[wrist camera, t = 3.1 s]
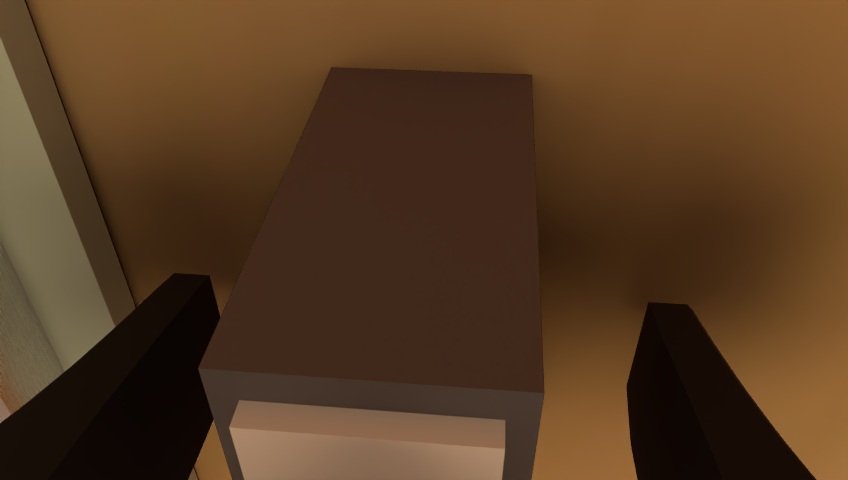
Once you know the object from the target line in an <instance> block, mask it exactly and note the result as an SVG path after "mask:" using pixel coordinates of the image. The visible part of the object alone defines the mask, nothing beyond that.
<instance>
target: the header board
mask: <svg viewBox="0 0 848 480" xmlns="http://www.w3.org/2000/svg"><path fill="white" fill-rule="evenodd" d="M135 308H136V307H135V304H134V302H133V299H132V296H131V293H130V291H129V288H128V285H127V282H126V279H125V277H124V274H123V271H122V268H121V266H120V263H119V260H118V257H117V255H116V252H115V249H114V246H113V244H112V241H111V238H110V235H109V232H108V230H107V227H106V224H105V221H104V219H103V216H102V213H101V210H100V208H99V205H98V202H97V199H96V197H95V194H94V191H93V188H92V186H91V183H90V180H89V177H88V174H87V172H86V169H85V166H84V163H83V161H82V158H81V155H80V152H79V150H78V147H77V144H76V141H75V139H74V136H73V133H72V130H71V127H70V125H69V122H68V119H67V116H66V114H65V111H64V108H63V105H62V103H61V100H60V97H59V94H58V92H57V89H56V86H55V83H54V81H53V78H52V75H51V72H50V69H49V67H48V64H47V61H46V58H45V56H44V53H43V50H42V47H41V45H40V42H39V39H38V36H37V34H36V31H35V28H34V25H33V22H32V20H31V17H30V14H29V11H28V9H27V6H26V3H25V0H0V423H1V422H2V421H3V420H5V419H6V418H8V417H9V416H10V415H12V414H13V413H14V412H15V411H17V410H18V409H19V408H21V407H22V406H23V405H25V404H26V403H27V402H28V401H29V400H31V399H32V398H33V397H34V396H36V395H37V394H38V393H39V392H40V391H42V390H43V389H44V388H45V387H47V386H48V385H49V384H50V383H51V382H53V381H54V380H55V379H56V378H58V377H59V376H60V375H61V374H62V373H64V372H65V371H66V370H67V369H69V368H70V367H71V366H72V365H73V364H74V363H76V362H77V361H78V360H79V359H80V358H81V357H82V356H83V355H85V354H86V353H87V352H88V351H89V350H90V349H91V348H92V347H94V346H95V345H96V344H97V343H98V342H99V341H100V340H101V339H103V338H104V337H105V336H106V335H107V334H108V333H109V332H110V331H112V330H113V329H114V328H115V327H116V326H117V325H118V324H119V323H120V322H121V321H122V320H124V319H125V318H126V317H127V316H128V315H129V314H130V313H131V312H132V311H133V310H134V309H135ZM188 480H198V478H197V476H196V473H195V470H194V467H193V470H192V472H191V474H190V477H189V479H188Z"/></svg>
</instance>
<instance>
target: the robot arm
mask: <svg viewBox="0 0 848 480" xmlns="http://www.w3.org/2000/svg"><path fill="white" fill-rule="evenodd" d="M219 320H220V314H219V310H218V306H217V303H216V299H215V295H214V291H213V287H212V283H211V280H210V276H209V275H196V274H180V273H174V274H173V275H172V276H171V277H169V278H168V279H167V280H166V281H165V282H164V283H163V284H162V285H161V286H159V287H158V288H157V289H156V290H155V291H154V292H153V293H152V294H151V295H150V296H148V297H147V298H146V299H145V300H144V301H143V302H142V303H141V304H140V305H139V306H138V307H137V308H135V309H134V310H133V311H132V312H131V313H130V314H129V315H128V316H127V317H126V318H125V319H124V320H122V321H121V322H120V323H119V324H118V325H117V326H116V327H115V328H114V329H113V330H112V331H110V332H109V333H108V334H107V335H106V336H105V337H104V338H103V339H101V340H100V341H99V342H98V343H97V344H96V345H95V346H94V347H92V348H91V349H90V350H89V351H88V352H87V353H86V354H85V355H83V356H82V357H81V358H80V359H79V360H78V361H77V362H76V363H74V364H73V365H72V366H71V367H70V368H69V369H67V370H66V371H65V372H64V373H62V374H61V375H60V376H59V377H58V378H56V379H55V380H54V381H53V382H51V383H50V384H49V385H48V386H47V387H45V388H44V389H43V390H42V391H40V392H39V393H38V394H37V395H36V396H34V397H33V398H32V399H31V400H29V401H28V402H27V403H26V404H25V405H23V406H22V407H21V408H19V409H18V410H17V411H15V412H14V413H13V414H12V415H10V416H9V417H8V418H6V419H5V420H3V421H2V422H1V423H0V480H188V479H189V477H190V474H191V472H192V470H193V467H194V465H195V463H196V460H197V458H198V456H199V453H200V451H201V448H202V446H203V443H204V441H205V439H206V436H207V434H208V431H209V429H210V427H211V424H212V422H213V419H214V418H213V415H212V412H211V409H210V406H209V402H208V399H207V396H206V393H205V389H204V386H203V383H202V380H201V376H200V373H199V370H198V367H199V365H200V363H201V361H202V358H203V356H204V354H205V352H206V349H207V347H208V345H209V343H210V340H211V338H212V336H213V334H214V331H215V329H216V327H217V324H218V322H219ZM627 400H628V415H629V427H630V439H631V447H632V453H633V458H634V463H635V468H636V474H637V479H638V480H816V479H815V477H814V476H813V475H812V474H811V473H810V472H809V470H808V469H807V468H806V467H805V465H804V464H803V463H802V462H801V461H800V459H799V458H798V457H797V456H796V455H795V453H794V452H793V451H792V450H791V448H790V447H789V446H788V445H787V444H786V442H785V441H784V440H783V438H782V437H781V436H780V435H779V433H778V432H777V431H776V430H775V428H774V427H773V426H772V424H771V423H770V422H769V420H768V419H767V418H766V416H765V415H764V414H763V412H762V411H761V410H760V408H759V407H758V406H757V404H756V403H755V401H754V400H753V399H752V397H751V396H750V395H749V393H748V392H747V391H746V389H745V388H744V386H743V385H742V384H741V382H740V381H739V379H738V378H737V377H736V375H735V374H734V372H733V371H732V369H731V368H730V366H729V365H728V363H727V362H726V360H725V359H724V358H723V356H722V355H721V353H720V352H719V350H718V349H717V347H716V346H715V344H714V343H713V341H712V340H711V338H710V336H709V335H708V333H707V332H706V330H705V329H704V327H703V326H702V324H701V322H700V321H699V319H698V318H697V316H696V315H695V313H694V311H693V310H692V309H691V308H690V307H689V306H688V305H684V304H668V303H651V302H648V306H647V310H646V313H645V317H644V321H643V325H642V329H641V333H640V336H639V340H638V344H637V348H636V352H635V356H634V359H633V363H632V367H631V371H630V375H629V379H628V383H627Z"/></svg>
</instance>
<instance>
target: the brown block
mask: <svg viewBox="0 0 848 480" xmlns="http://www.w3.org/2000/svg"><path fill="white" fill-rule="evenodd" d="M198 370H199V373H200V376H201V380H202V383H203V386H204V389H205V393H206V396H207V399H208V402H209V406H210V409H211V412H212V415H213V418H214V422H215V425H216V428H217V431H218V435H219V438H220V441H221V444H222V448H223V451H224V454H225V457H226V460H227V464H228V467H229V470H230V473H231V477H232V480H531V478H532V472H533V465H534V458H535V452H536V445H537V438H538V432H539V425H540V419H541V412H542V405H543V399H544V373H543V347H542V322H541V296H540V271H539V246H538V220H537V195H536V169H535V144H534V119H533V93H532V75H525V74H497V73H469V72H442V71H414V70H387V69H359V68H331V70H330V72H329V74H328V76H327V79H326V81H325V83H324V86H323V88H322V90H321V92H320V95H319V97H318V99H317V101H316V104H315V106H314V108H313V110H312V113H311V115H310V117H309V119H308V122H307V124H306V126H305V128H304V131H303V133H302V135H301V137H300V140H299V142H298V144H297V146H296V149H295V151H294V153H293V155H292V158H291V160H290V162H289V164H288V167H287V169H286V171H285V173H284V176H283V178H282V180H281V182H280V185H279V187H278V189H277V191H276V194H275V196H274V198H273V200H272V203H271V205H270V207H269V210H268V212H267V214H266V216H265V219H264V221H263V223H262V225H261V228H260V230H259V232H258V234H257V237H256V239H255V241H254V243H253V246H252V248H251V250H250V252H249V255H248V257H247V259H246V261H245V264H244V266H243V268H242V270H241V273H240V275H239V277H238V279H237V282H236V284H235V286H234V288H233V291H232V293H231V295H230V297H229V300H228V302H227V304H226V306H225V309H224V311H223V313H222V315H221V318H220V320H219V322H218V324H217V327H216V329H215V331H214V334H213V336H212V338H211V340H210V343H209V345H208V347H207V349H206V352H205V354H204V356H203V358H202V361H201V363H200V365H199V367H198Z"/></svg>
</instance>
